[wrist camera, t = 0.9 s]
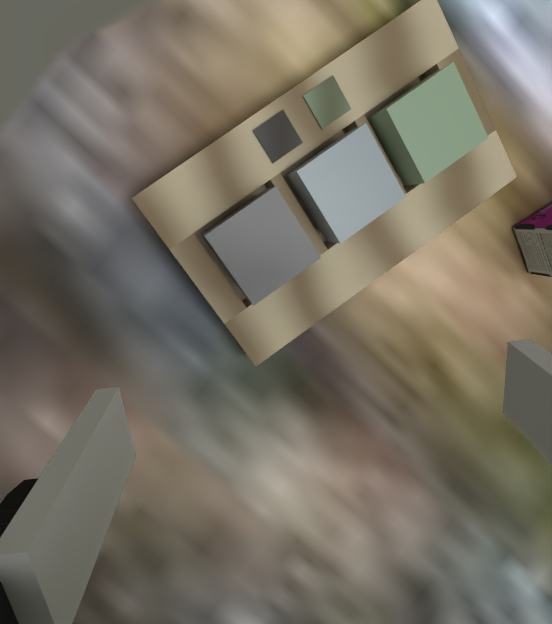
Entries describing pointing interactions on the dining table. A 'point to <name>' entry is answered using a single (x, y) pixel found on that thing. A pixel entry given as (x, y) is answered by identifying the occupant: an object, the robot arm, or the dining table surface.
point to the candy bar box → (536, 241)
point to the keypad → (301, 147)
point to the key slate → (346, 185)
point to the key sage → (429, 126)
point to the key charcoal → (262, 245)
